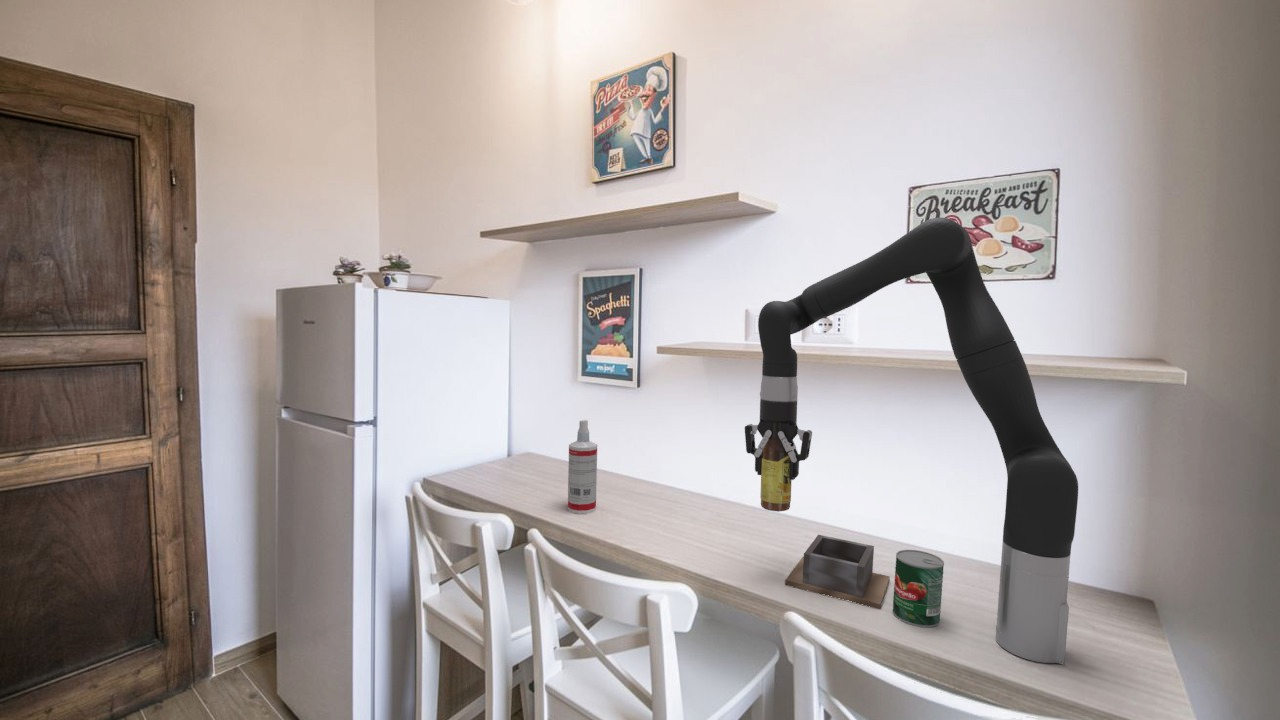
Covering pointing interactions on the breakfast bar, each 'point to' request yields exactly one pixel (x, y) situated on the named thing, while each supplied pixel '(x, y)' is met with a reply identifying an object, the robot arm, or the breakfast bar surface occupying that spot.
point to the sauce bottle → (775, 474)
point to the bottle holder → (840, 571)
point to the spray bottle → (582, 473)
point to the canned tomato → (918, 588)
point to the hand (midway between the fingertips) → (776, 476)
